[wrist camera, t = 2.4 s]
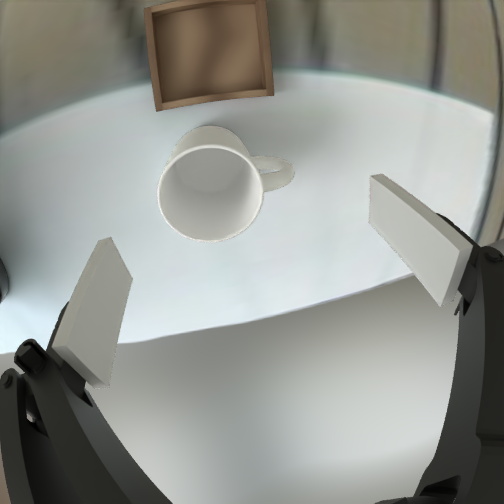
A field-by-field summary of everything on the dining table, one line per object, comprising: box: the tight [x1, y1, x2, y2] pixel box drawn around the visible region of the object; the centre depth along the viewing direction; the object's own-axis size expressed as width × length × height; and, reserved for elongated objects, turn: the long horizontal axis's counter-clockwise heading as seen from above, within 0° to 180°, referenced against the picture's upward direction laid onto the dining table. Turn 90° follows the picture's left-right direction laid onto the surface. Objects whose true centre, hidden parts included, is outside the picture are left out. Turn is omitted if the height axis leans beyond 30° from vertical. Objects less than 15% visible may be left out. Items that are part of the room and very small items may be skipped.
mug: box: [157, 126, 295, 242], centre depth 25 cm, size 12×8×10 cm
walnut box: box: [144, 0, 274, 112], centre depth 21 cm, size 11×11×2 cm
